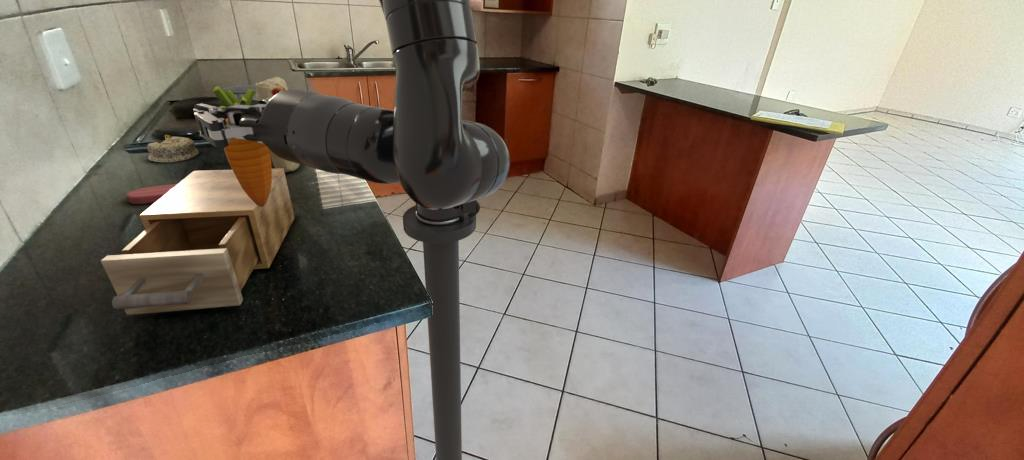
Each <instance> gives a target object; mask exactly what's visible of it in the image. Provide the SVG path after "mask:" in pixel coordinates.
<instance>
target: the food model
mask: <svg viewBox="0 0 1024 460" xmlns="http://www.w3.org/2000/svg"><path fill="white" fill-rule="evenodd" d="M255 86H256V90H257V95H258V99H262V100H263V99H266V98H272V97H273V96H274V95H276V94H278V93H279V92H282V91H285V90H289V88H288V85H287V82H286V80H284V79H283V78H281V77H279V76H274V77H272V78H268V79H265V80H263V81H259V82H255ZM269 150H270V149H269ZM270 156H271V162H272V164H273V165H272V166H273V167H274V169H276V168H284V173H289V172H294V171H296V170H297V169H299V167H300V165H301V164H297V163H294V162H290V161H287V160H284V159H282V158H280V157H278V156H277V155H275V154H274V153H273V152H272V151H271V150H270Z"/></svg>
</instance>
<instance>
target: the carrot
mask: <svg viewBox="0 0 1024 460" xmlns="http://www.w3.org/2000/svg"><path fill="white" fill-rule="evenodd" d="M222 89H223V88H222V87H221V86H220V85H219V86H215V87H214V88H213V89H212V92H213V94H214V95H215V97H216V98H217V99H218V100H219V101H220V103H221V104H222V105H219V106H218V107H219V108H226V107H228V106H232V105H233V104H234V105H236V104H237V105H249V106H250V104H251V102H252V99H253V97H254V95H255V92H256V91H254V90H253V89H248V90H247V92H246V94H245V96H244V97H242V98H241V100H240V103H239V101H238V99H237V98H236V97H235V95H234V94H233V93H232V92H231V91H230V90H226V91H223V90H222ZM227 96H228V97H229V98H228V97H227ZM230 100H231V101H232V102H233V104H232V102H231V101H230ZM241 114H243V113H241ZM225 120H226V124H227V125H230V124H229V121H228V118H227V117H226V118H225ZM230 141H231V142H230V143H229V146H227V147H225V148H223V150H224V154H225V156H226V159H227V162H228V164H229V166H230V167H231V170H233V172H234V174H235V176H236V178H237V180H238V181H239V183H240V185H241V187H242V189H243V190H244V191H245V193H246V194H247V195H248V196H249V198H250V199H251V200H252V201H253V202H254V203H255V204H256V205H258V206H260V207H263V206H264V205H265V204H266V203H267V200H268V197H269V194H270V189H271V184H272V169H273V167H272V157H271V153H270V149H269V148H268V147H267V146H266V145H265V144H264V143H259V142H257V141H248V140H246V139H236V138H230Z"/></svg>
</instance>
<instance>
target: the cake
mask: <svg viewBox="0 0 1024 460" xmlns="http://www.w3.org/2000/svg"><path fill="white" fill-rule="evenodd" d="M164 138H165V139H164V140H163V141H162V142H161V141H156V142H155V141H154V142H150V143H147V145H146V149H147V152H148V153H149V155H148V157H147V159H148V161H151V162H155V163H175V162H176V163H177V162H181V161H187V160H189V159H192V158H195V157H196V156H198V155H199V153H200V152H199V150H198V148H197V147H196V142H195V140H193V139H191V138H189V137H184V136H172V135H169V134H165V135H164Z"/></svg>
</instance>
